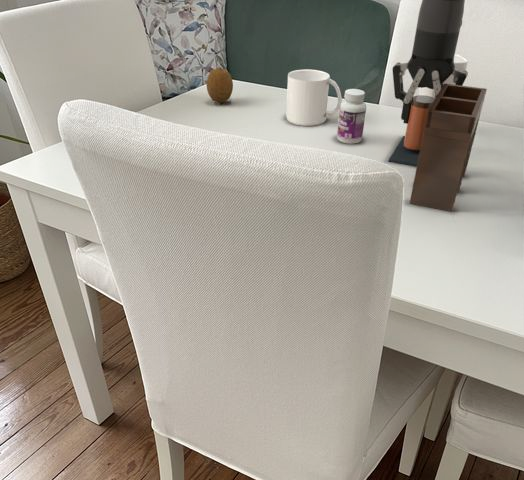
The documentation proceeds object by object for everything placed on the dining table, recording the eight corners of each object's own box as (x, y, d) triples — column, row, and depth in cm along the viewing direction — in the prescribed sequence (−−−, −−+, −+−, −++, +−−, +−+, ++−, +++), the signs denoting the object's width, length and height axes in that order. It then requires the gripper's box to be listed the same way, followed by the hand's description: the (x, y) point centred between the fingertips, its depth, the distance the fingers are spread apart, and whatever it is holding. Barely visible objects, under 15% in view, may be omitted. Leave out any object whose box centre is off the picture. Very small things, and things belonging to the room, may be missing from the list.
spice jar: (428, 143, 115) (438, 97, 110) (424, 151, 112) (434, 104, 106) (405, 140, 117) (414, 93, 111) (401, 148, 113) (409, 100, 108)
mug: (280, 122, 127) (281, 78, 121) (293, 110, 134) (295, 67, 127) (331, 130, 124) (336, 85, 118) (343, 117, 130) (347, 74, 124)
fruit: (207, 99, 139) (205, 63, 134) (232, 98, 139) (231, 63, 134) (207, 107, 134) (206, 71, 129) (234, 107, 135) (233, 70, 130)
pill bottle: (331, 139, 120) (335, 91, 114) (347, 133, 123) (352, 85, 117) (351, 146, 117) (357, 97, 111) (367, 140, 120) (373, 91, 114)
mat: (439, 143, 119) (439, 141, 119) (427, 168, 109) (427, 166, 109) (403, 137, 121) (403, 135, 121) (388, 161, 111) (388, 159, 111)
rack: (464, 175, 107) (486, 88, 97) (451, 211, 96) (475, 117, 86) (426, 169, 109) (444, 83, 99) (409, 203, 98) (427, 110, 88)
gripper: (393, 26, 100) (379, 125, 111) (477, 35, 96) (453, 136, 107) (402, 18, 105) (387, 113, 116) (482, 26, 101) (459, 123, 112)
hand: (419, 123), depth 112 cm, fingers closed on spice jar, 4 cm apart
